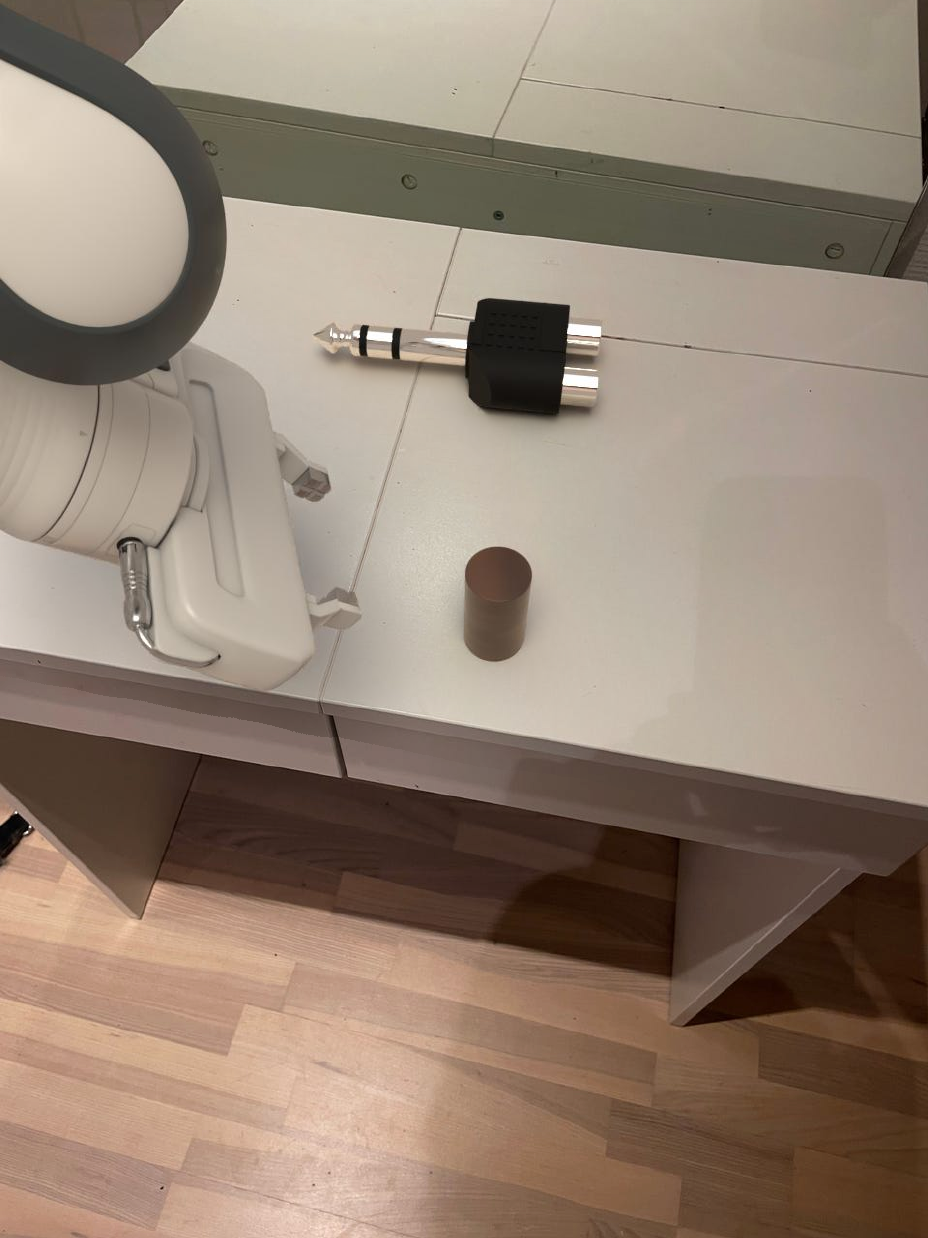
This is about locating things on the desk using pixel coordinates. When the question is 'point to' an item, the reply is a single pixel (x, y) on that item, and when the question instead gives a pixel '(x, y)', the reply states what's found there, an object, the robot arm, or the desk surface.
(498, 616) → the brown cylinder
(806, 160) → the desk surface
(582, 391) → the audio adapter
